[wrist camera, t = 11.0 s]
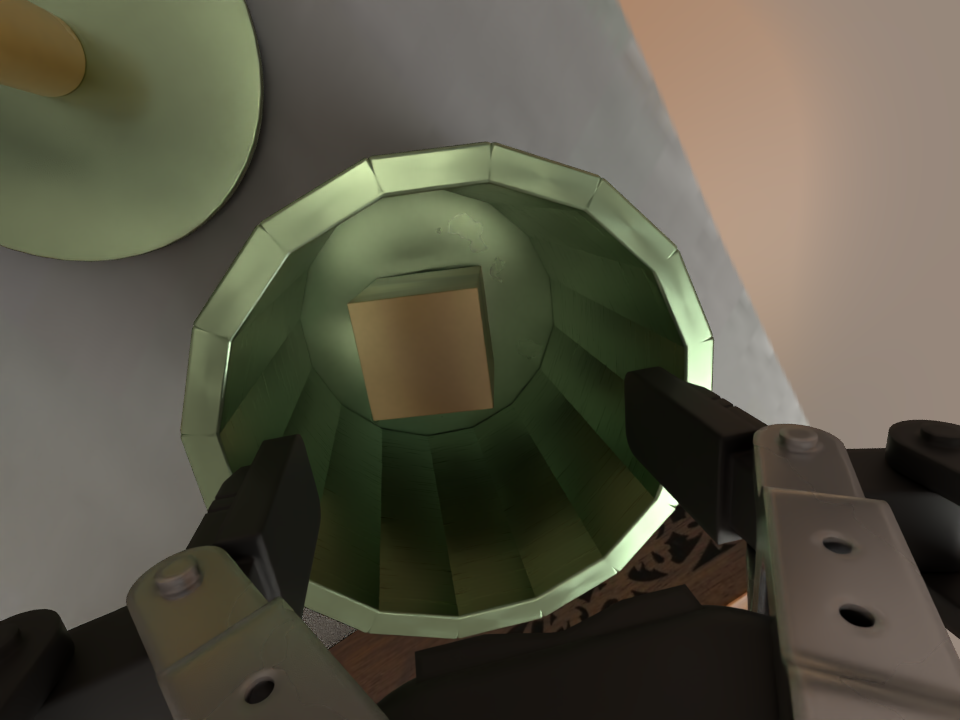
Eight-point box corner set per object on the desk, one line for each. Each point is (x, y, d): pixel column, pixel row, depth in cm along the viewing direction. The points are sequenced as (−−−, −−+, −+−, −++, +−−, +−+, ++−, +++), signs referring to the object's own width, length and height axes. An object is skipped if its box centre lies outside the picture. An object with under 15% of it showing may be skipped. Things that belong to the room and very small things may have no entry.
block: (396, 376, 23) (373, 421, 19) (376, 278, 21) (346, 303, 17) (494, 365, 22) (493, 409, 18) (481, 265, 21) (477, 287, 17)
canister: (227, 353, 22) (71, 509, 11) (396, 101, 20) (407, -7, 9) (459, 486, 26) (511, 695, 15) (617, 287, 24) (805, 365, 13)
